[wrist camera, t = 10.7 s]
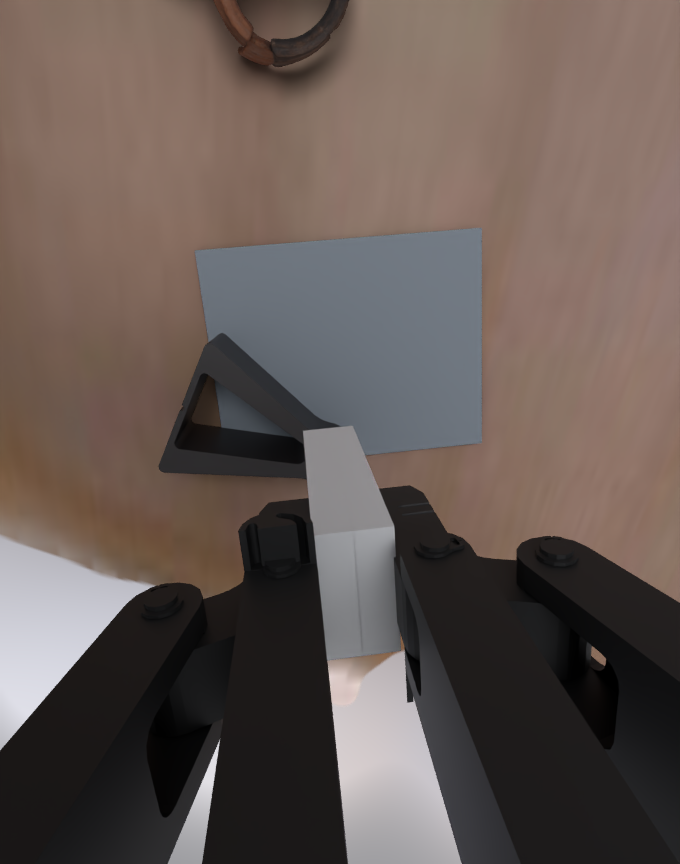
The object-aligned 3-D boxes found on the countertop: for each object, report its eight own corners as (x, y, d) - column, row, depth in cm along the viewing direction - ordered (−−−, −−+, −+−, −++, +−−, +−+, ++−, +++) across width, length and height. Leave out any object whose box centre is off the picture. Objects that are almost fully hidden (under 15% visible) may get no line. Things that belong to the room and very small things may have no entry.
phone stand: (176, 442, 39) (322, 497, 42) (156, 470, 34) (327, 532, 36) (219, 331, 37) (370, 396, 40) (206, 340, 32) (383, 416, 34)
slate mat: (228, 467, 41) (228, 469, 40) (196, 250, 36) (194, 250, 36) (479, 440, 42) (481, 442, 42) (479, 228, 37) (481, 227, 37)
